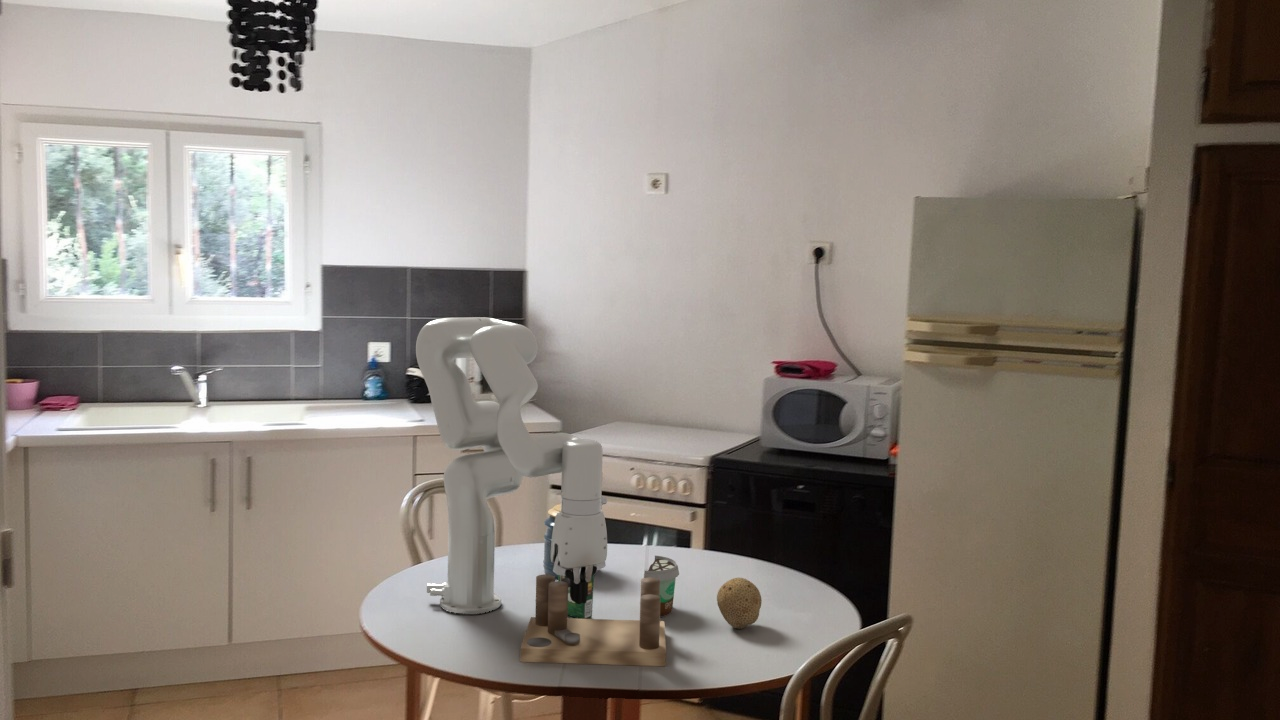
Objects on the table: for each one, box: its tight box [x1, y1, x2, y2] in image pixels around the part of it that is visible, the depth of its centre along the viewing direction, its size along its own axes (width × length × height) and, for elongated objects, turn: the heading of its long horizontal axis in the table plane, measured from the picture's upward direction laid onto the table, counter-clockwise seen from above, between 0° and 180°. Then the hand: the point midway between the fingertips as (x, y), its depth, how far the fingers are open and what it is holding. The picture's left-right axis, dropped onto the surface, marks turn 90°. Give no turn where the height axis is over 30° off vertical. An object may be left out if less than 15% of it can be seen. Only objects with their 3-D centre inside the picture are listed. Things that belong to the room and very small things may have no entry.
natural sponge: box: [716, 577, 762, 630], centre depth 199 cm, size 9×9×10 cm
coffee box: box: [557, 568, 595, 619], centre depth 203 cm, size 8×3×13 cm, turn 49°
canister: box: [542, 503, 599, 579], centre depth 232 cm, size 13×13×18 cm
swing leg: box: [548, 580, 580, 645], centre depth 184 cm, size 9×4×9 cm, turn 31°
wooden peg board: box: [519, 573, 667, 667], centre depth 186 cm, size 26×16×12 cm, turn 90°
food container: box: [643, 555, 680, 618], centre depth 207 cm, size 12×6×10 cm, turn 168°
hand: (578, 601), depth 188 cm, fingers closed
